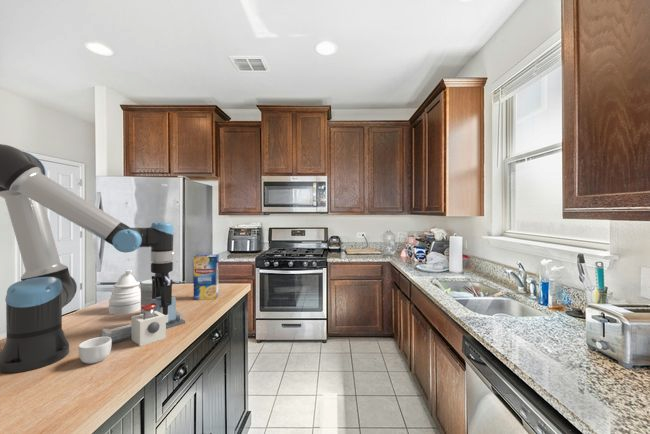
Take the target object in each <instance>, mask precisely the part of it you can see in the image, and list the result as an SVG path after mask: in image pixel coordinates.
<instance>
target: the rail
mask: <svg viewBox="0 0 650 434" xmlns="http://www.w3.org/2000/svg"><path fill="white" fill-rule="evenodd" d="M185 323H186V320H185V319H184V314H183V313H181V312H179V311H177V310H176V319H174V320H170V321H168V322H167V323H166V329H169V328H172V327H176V326H180V325H184V324H185ZM100 337H110V338H111V339H112V344H111V345H113V344H114V345H115V344H118V343H120V342H125V341H127V340H131V323H129V324H127V325H122V326H119V327H115V328H110V329H107V328H103V329H101V333H100Z"/></svg>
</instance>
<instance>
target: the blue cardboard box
mask: <svg viewBox="0 0 650 434" xmlns="http://www.w3.org/2000/svg"><path fill="white" fill-rule="evenodd" d="M219 258H220V257H219V254H196V255H195V256H193V300H194V301H203V300H205V299H207V300H217V298H218V297H219V281H220V279H219V270H220V269H219V265H220V263H219V262H220V261H219V260H220V259H219Z"/></svg>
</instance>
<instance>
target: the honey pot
mask: <svg viewBox="0 0 650 434" xmlns="http://www.w3.org/2000/svg"><path fill="white" fill-rule="evenodd" d="M132 272H133V270H132V269H127V270H125V273H123V274H122V275H121V276H120V277H119V278H118V280H117V282H116V283H114V285H113V289H112V291H111V295H110V298H109V299H108V313H109V314H111V315H125V314H130V313H131V314H132V313H135V312H138V311H141V287H140V286H139V285H141V282H140V281H137V280H136V278H135V277H134V276H133V275H132Z"/></svg>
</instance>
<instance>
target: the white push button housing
mask: <svg viewBox="0 0 650 434" xmlns="http://www.w3.org/2000/svg"><path fill="white" fill-rule="evenodd" d="M130 319H131V322H130V324H131V339H130V340H131V341H132V342H134V343H135V344H137V345H138V346H139V347H143V346H145V345H148V344H152V343H156V342H159V341H162V340H164V339H167V328H166V315H164V314H162V313H160V312H158V311H154V317H152V318H148V319H144V320H143V314H141V313H140V314H138V315H137V314H136V315H133V316H132V315H131V318H130Z"/></svg>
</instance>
